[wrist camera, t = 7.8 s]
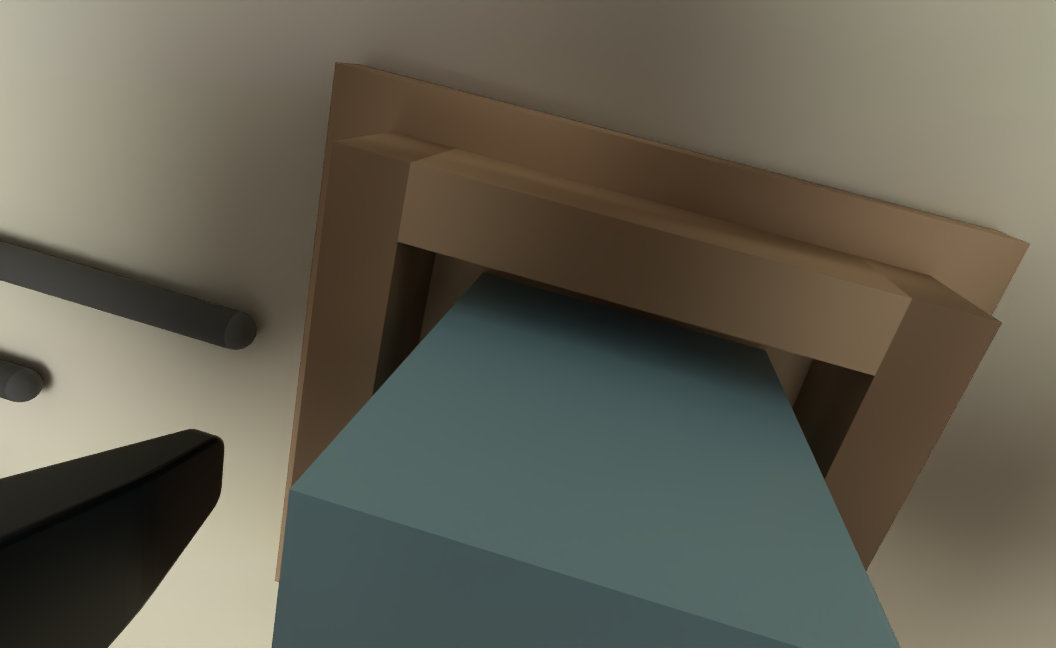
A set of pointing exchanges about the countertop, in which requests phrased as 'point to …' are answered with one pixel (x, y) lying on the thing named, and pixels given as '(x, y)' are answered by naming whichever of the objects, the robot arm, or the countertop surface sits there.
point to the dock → (642, 271)
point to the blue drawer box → (571, 496)
